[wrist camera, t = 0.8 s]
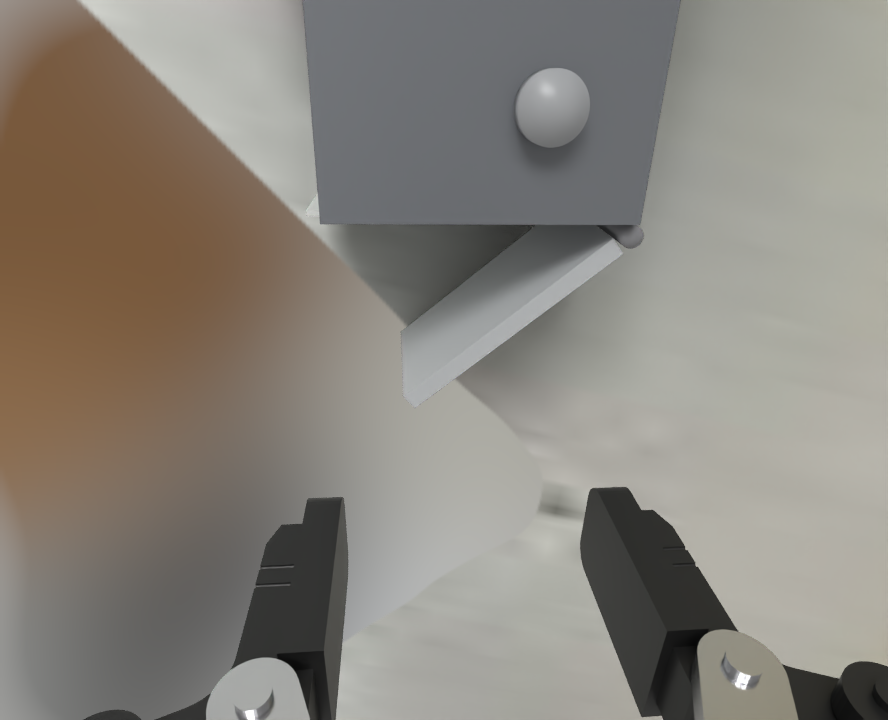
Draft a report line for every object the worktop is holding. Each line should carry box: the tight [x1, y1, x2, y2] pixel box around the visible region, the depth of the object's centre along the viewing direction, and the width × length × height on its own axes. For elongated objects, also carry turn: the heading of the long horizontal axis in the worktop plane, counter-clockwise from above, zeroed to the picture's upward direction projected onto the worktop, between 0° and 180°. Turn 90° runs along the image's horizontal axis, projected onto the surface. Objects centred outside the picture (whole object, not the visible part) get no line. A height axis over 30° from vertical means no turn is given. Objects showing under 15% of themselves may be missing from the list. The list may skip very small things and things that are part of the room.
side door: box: [401, 225, 644, 408], centre depth 27 cm, size 2×12×7 cm, turn 129°
